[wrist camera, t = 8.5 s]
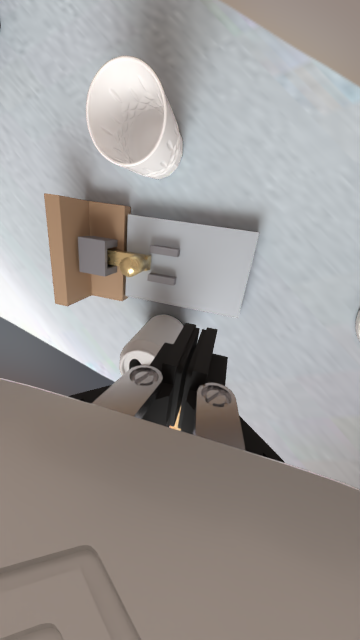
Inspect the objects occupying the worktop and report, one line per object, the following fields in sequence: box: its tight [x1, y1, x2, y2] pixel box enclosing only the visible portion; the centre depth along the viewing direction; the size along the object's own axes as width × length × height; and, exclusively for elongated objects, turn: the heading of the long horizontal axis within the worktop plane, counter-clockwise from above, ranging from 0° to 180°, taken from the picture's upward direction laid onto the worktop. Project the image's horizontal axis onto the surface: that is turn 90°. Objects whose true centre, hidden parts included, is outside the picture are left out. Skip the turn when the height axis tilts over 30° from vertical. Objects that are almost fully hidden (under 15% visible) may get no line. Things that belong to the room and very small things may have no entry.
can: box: [119, 315, 184, 376], centre depth 34 cm, size 8×8×12 cm
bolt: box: [107, 248, 151, 277], centre depth 31 cm, size 9×2×6 cm, turn 83°
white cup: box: [86, 56, 183, 179], centre depth 25 cm, size 8×8×10 cm
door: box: [44, 193, 259, 318], centre depth 31 cm, size 26×14×8 cm, turn 83°
